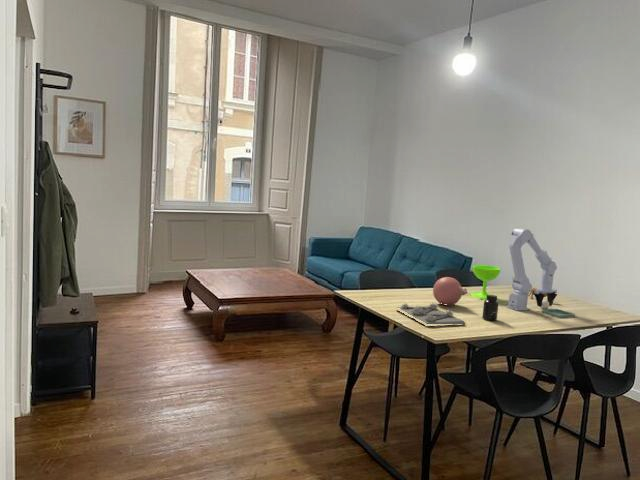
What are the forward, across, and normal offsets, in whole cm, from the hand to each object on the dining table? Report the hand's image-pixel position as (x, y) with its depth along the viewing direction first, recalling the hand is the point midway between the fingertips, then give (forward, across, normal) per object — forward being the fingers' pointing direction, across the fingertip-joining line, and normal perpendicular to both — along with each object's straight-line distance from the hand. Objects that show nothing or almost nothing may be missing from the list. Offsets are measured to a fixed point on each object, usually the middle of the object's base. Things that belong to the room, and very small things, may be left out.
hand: (544, 306), depth 276 cm
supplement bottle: (+2, -49, -11) cm, 50 cm away
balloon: (+2, -52, +16) cm, 54 cm away
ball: (+1, 0, 0) cm, 1 cm away
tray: (+1, -3, -12) cm, 12 cm away
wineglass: (+2, -16, +30) cm, 34 cm away
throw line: (+1, -1, -5) cm, 5 cm away
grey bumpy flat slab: (+2, -78, -2) cm, 79 cm away
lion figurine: (+2, +15, +17) cm, 23 cm away
